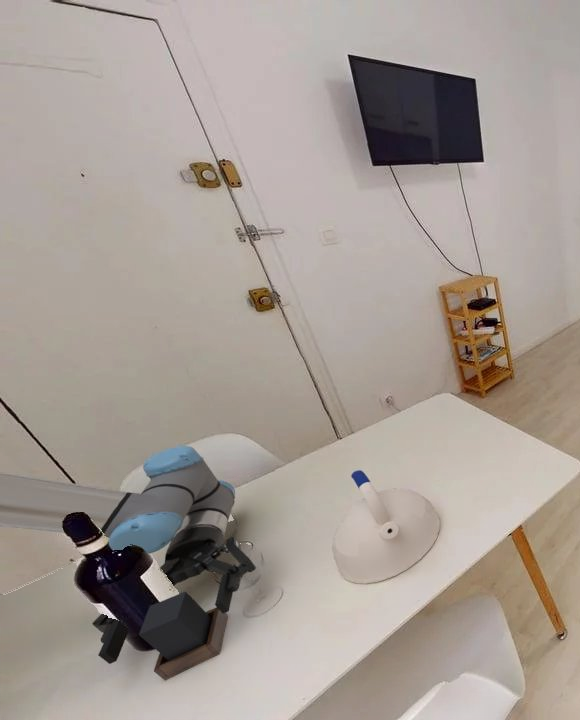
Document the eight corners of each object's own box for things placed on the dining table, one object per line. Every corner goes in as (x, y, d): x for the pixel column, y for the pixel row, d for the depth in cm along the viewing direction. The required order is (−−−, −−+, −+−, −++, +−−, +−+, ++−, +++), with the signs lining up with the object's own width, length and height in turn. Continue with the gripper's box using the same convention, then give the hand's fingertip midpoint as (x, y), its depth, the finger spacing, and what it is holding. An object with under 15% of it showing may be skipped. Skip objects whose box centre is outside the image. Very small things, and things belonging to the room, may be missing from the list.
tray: (164, 680, 68) (153, 671, 66) (177, 638, 74) (167, 628, 72) (219, 653, 71) (210, 644, 70) (228, 615, 77) (219, 605, 76)
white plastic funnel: (354, 607, 78) (315, 545, 69) (326, 542, 91) (291, 484, 82) (456, 539, 91) (435, 480, 82) (419, 491, 103) (397, 435, 94)
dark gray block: (175, 666, 69) (138, 634, 64) (183, 638, 73) (149, 606, 68) (210, 650, 71) (177, 618, 67) (216, 623, 75) (186, 590, 71)
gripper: (283, 523, 90) (273, 602, 75) (121, 584, 79) (70, 694, 63) (267, 499, 87) (253, 577, 71) (95, 560, 75) (33, 669, 59)
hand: (167, 632), depth 67 cm, fingers open, 13 cm apart
